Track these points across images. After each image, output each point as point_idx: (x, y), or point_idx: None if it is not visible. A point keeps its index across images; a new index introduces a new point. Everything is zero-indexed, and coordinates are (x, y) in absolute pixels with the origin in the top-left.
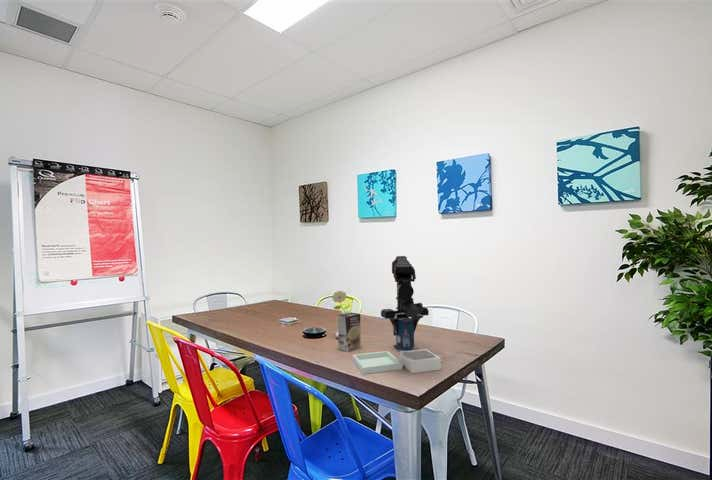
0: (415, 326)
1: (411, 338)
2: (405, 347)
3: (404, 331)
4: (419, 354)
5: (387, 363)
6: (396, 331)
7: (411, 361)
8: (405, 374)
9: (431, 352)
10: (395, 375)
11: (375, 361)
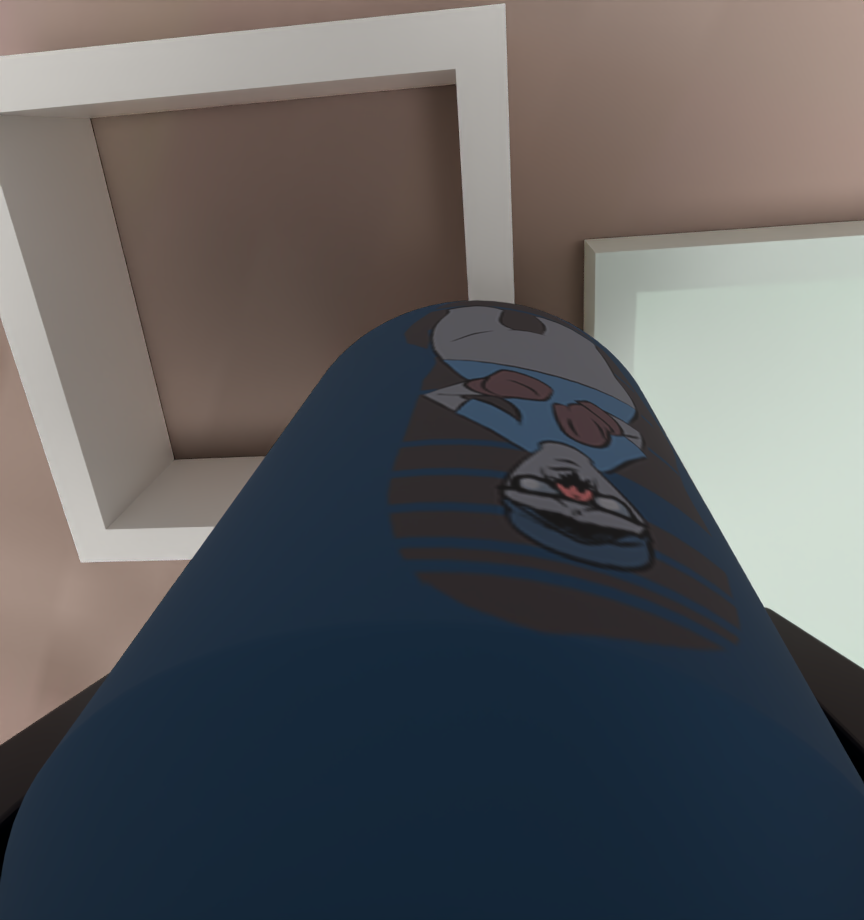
0: (15, 759)
1: (357, 384)
2: (546, 315)
3: (621, 489)
4: (225, 497)
5: (706, 472)
6: (856, 670)
7: (506, 42)
8: (624, 14)
9: (32, 395)
10: (794, 9)
11: (825, 575)
